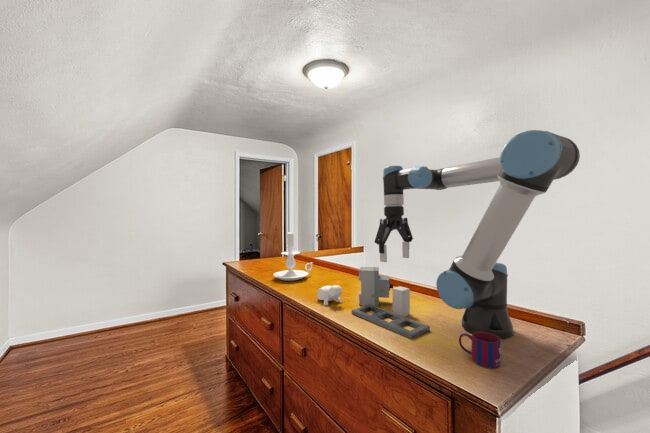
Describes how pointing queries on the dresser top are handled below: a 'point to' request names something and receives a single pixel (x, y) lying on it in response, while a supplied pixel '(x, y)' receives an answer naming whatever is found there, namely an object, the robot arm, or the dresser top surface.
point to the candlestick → (291, 263)
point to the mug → (484, 349)
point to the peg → (401, 301)
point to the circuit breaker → (373, 286)
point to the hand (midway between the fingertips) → (395, 259)
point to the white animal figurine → (329, 293)
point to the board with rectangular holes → (393, 325)
